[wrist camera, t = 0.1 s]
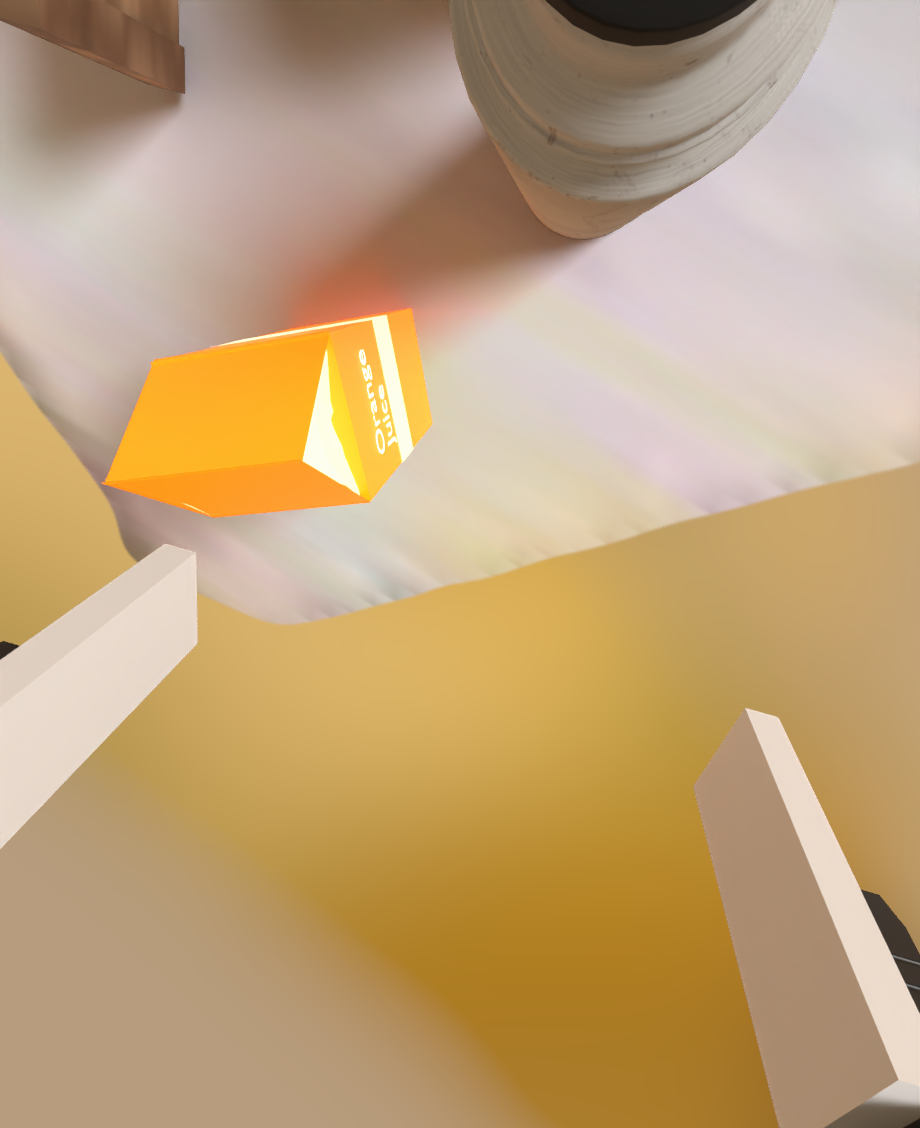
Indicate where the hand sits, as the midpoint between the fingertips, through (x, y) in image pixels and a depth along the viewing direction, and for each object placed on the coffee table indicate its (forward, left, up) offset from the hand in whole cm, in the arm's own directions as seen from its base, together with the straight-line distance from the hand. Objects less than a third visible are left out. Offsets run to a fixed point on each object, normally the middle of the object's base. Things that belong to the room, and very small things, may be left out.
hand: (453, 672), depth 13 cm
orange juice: (+1, -11, -28) cm, 30 cm away
